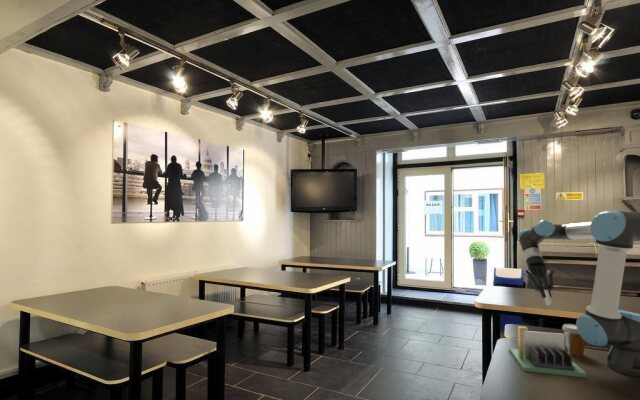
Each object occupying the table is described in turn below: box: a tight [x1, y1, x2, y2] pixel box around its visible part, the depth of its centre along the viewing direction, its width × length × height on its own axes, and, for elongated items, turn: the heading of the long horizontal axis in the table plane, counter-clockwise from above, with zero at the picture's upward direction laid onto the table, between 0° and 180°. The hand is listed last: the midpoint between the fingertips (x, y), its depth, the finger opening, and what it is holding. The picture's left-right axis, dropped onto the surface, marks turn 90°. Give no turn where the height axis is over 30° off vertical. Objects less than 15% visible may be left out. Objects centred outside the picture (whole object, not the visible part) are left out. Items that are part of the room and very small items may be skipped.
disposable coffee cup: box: [561, 323, 586, 357], centre depth 170 cm, size 10×10×12 cm
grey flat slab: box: [524, 330, 564, 358], centre depth 158 cm, size 15×2×11 cm, turn 78°
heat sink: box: [517, 325, 574, 371], centre depth 154 cm, size 19×11×13 cm, turn 77°
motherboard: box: [508, 348, 587, 378], centre depth 158 cm, size 22×22×2 cm
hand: (549, 304), depth 171 cm, fingers closed
